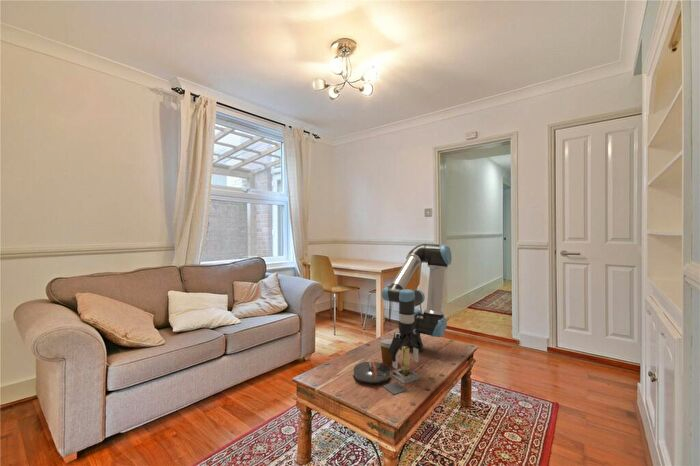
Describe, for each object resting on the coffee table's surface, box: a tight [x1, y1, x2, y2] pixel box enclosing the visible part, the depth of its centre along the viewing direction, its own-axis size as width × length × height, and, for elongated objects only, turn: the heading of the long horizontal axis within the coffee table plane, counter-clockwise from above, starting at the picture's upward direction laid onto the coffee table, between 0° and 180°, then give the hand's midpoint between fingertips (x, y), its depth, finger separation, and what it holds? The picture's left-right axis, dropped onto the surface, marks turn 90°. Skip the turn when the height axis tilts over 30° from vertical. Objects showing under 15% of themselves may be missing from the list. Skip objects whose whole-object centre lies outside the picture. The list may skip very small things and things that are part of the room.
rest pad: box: [382, 381, 408, 396], centre depth 138 cm, size 8×8×1 cm
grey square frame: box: [392, 367, 420, 385], centre depth 148 cm, size 9×9×2 cm
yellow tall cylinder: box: [401, 346, 411, 376], centre depth 147 cm, size 4×4×15 cm
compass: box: [353, 361, 391, 384], centre depth 148 cm, size 18×18×7 cm
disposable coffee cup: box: [379, 337, 395, 366], centre depth 163 cm, size 10×10×12 cm
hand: (405, 364), depth 147 cm, fingers open, 13 cm apart
